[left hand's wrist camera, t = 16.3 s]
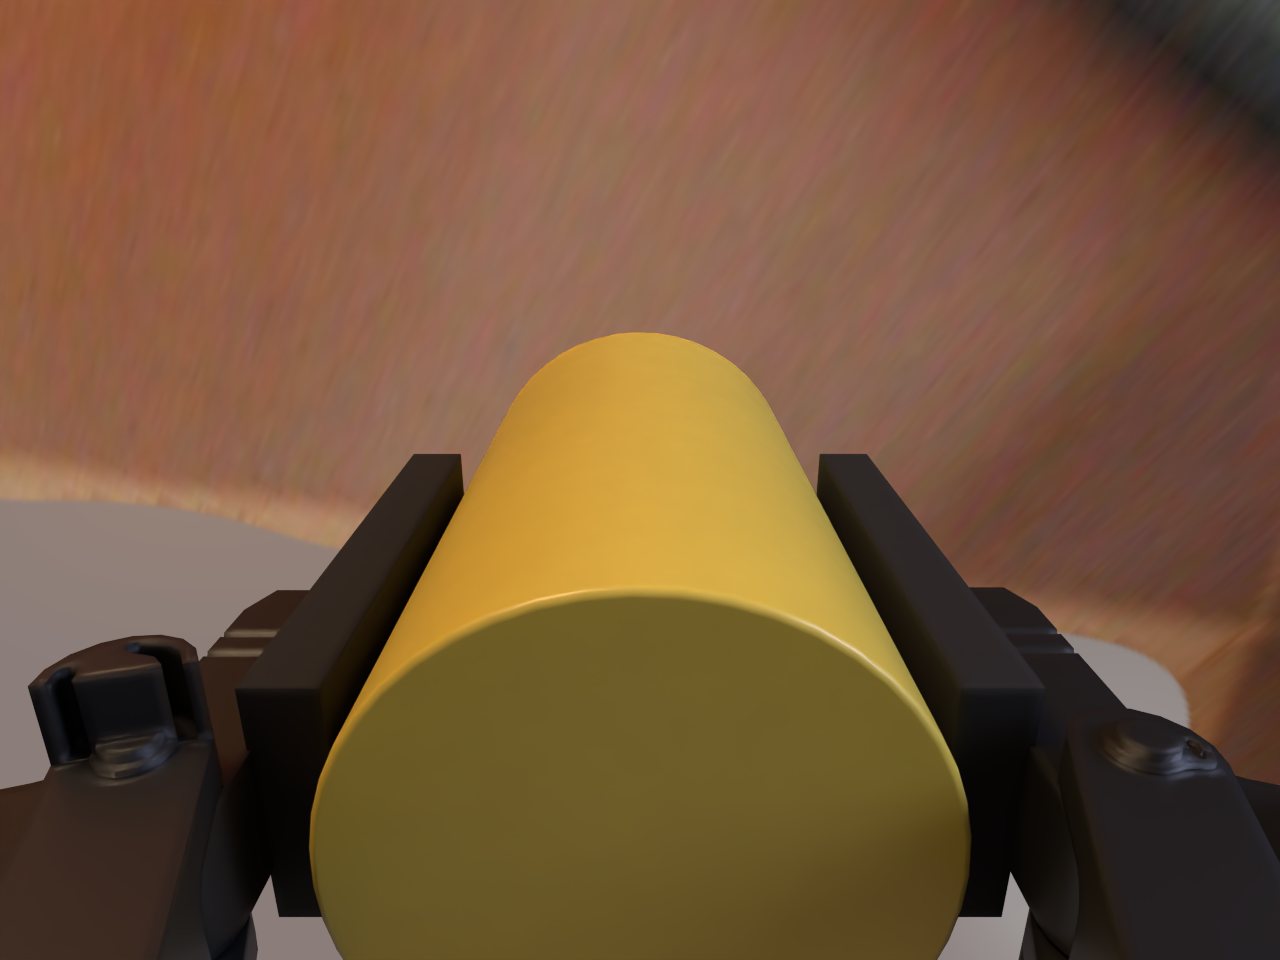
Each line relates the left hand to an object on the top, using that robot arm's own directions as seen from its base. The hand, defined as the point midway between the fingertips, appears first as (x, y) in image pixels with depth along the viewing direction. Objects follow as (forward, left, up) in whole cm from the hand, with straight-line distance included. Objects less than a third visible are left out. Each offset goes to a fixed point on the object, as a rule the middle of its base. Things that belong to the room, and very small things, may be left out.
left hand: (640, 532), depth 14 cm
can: (0, 0, -3) cm, 3 cm away
